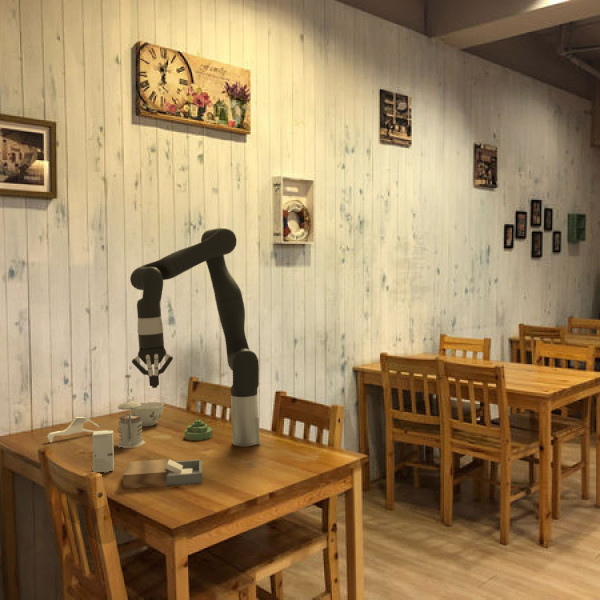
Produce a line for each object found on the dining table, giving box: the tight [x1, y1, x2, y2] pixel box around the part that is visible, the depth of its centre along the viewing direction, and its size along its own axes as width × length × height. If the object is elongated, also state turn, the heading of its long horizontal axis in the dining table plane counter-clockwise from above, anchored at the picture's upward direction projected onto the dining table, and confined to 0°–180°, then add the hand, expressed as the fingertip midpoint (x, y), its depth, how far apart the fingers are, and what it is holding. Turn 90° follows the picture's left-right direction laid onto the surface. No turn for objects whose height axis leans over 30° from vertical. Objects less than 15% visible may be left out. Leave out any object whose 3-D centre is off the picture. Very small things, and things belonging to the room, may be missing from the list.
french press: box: [116, 373, 146, 449], centre depth 224 cm, size 10×12×25 cm
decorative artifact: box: [184, 417, 214, 441], centre depth 232 cm, size 10×7×10 cm
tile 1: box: [165, 458, 183, 474], centre depth 187 cm, size 4×4×2 cm
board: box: [122, 458, 169, 489], centre depth 187 cm, size 12×12×4 cm
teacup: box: [130, 401, 164, 427], centre depth 252 cm, size 15×12×8 cm
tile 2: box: [180, 468, 193, 474], centre depth 188 cm, size 4×4×2 cm
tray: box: [166, 459, 203, 487], centre depth 189 cm, size 10×13×3 cm
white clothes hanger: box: [47, 416, 101, 444], centre depth 236 cm, size 2×11×18 cm
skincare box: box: [91, 429, 115, 473], centre depth 197 cm, size 6×4×12 cm
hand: (154, 387), depth 197 cm, fingers closed
